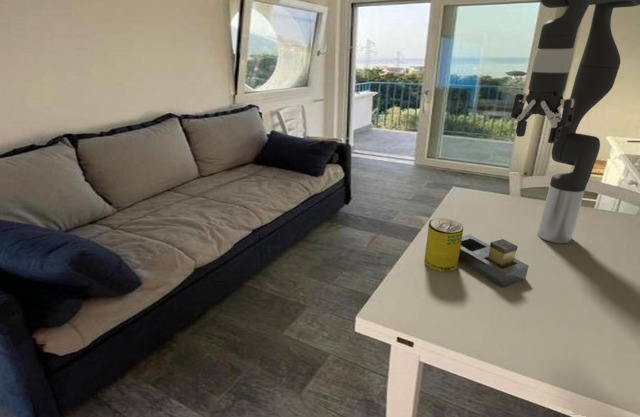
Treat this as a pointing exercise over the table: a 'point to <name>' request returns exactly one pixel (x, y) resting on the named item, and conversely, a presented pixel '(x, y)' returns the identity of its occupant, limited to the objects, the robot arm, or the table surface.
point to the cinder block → (489, 263)
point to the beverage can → (443, 244)
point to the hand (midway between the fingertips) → (535, 139)
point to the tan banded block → (502, 253)
